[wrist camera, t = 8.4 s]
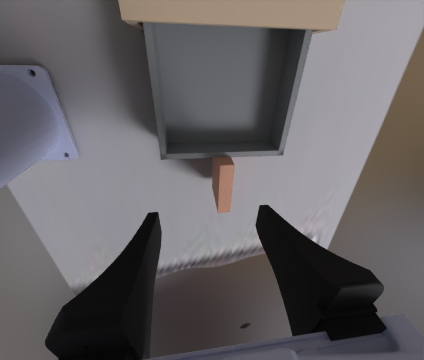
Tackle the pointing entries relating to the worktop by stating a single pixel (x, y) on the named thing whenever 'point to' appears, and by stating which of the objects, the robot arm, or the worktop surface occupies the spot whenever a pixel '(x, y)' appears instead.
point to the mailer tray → (224, 92)
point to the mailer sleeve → (236, 13)
